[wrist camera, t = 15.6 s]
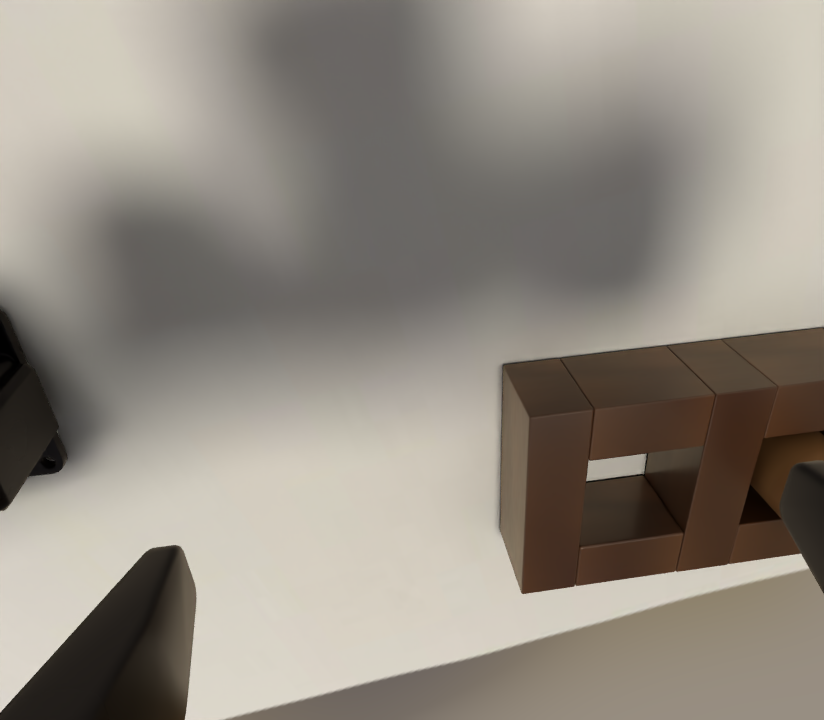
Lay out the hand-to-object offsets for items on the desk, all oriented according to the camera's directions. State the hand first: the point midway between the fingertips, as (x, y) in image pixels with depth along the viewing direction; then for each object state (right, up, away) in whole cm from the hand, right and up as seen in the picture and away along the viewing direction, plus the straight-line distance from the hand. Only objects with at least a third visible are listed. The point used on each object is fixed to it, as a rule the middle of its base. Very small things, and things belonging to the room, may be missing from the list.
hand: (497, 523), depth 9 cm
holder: (+10, -1, +17) cm, 20 cm away
